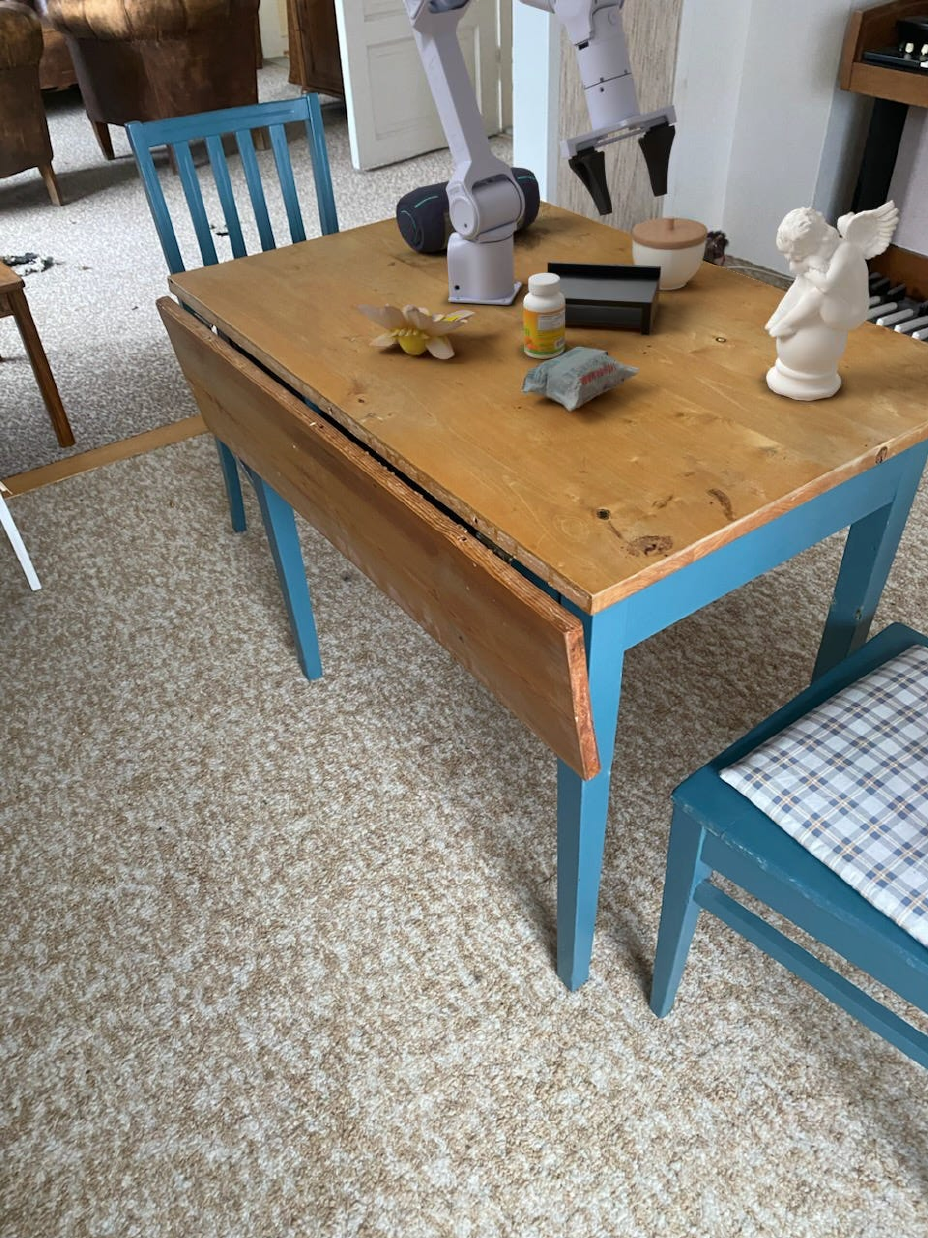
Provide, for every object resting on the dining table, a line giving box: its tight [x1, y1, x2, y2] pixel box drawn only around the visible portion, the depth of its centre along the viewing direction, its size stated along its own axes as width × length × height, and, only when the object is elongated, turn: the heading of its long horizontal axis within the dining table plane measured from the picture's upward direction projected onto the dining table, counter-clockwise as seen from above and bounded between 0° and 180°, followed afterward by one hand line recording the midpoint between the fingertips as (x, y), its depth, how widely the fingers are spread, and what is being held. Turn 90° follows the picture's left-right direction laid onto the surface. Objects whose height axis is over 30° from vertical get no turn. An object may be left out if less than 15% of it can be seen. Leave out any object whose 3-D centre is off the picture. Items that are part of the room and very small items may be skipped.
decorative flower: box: [355, 303, 475, 360], centre depth 126 cm, size 15×11×10 cm
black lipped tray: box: [546, 261, 661, 336], centre depth 132 cm, size 16×10×6 cm, turn 74°
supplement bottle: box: [522, 272, 566, 360], centre depth 123 cm, size 5×5×10 cm
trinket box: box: [631, 216, 709, 291], centre depth 139 cm, size 11×11×9 cm
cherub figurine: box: [764, 199, 900, 402], centre depth 109 cm, size 12×12×22 cm
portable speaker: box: [395, 166, 541, 253], centre depth 158 cm, size 25×10×10 cm, turn 119°
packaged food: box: [521, 345, 639, 412], centre depth 115 cm, size 9×12×5 cm
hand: (633, 204), depth 115 cm, fingers open, 7 cm apart
